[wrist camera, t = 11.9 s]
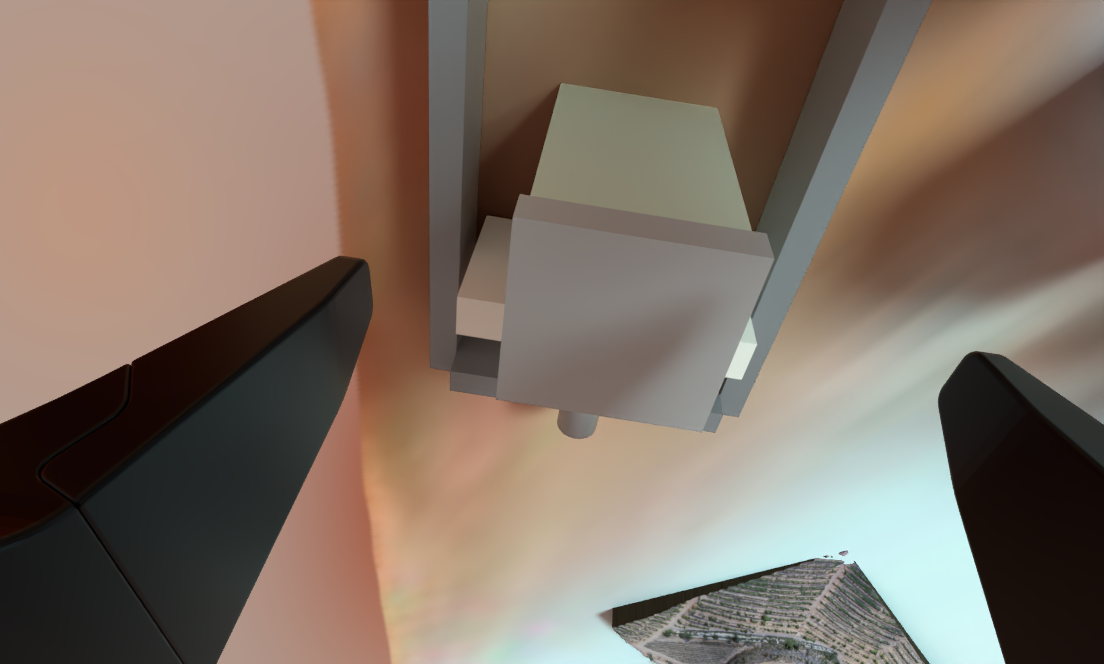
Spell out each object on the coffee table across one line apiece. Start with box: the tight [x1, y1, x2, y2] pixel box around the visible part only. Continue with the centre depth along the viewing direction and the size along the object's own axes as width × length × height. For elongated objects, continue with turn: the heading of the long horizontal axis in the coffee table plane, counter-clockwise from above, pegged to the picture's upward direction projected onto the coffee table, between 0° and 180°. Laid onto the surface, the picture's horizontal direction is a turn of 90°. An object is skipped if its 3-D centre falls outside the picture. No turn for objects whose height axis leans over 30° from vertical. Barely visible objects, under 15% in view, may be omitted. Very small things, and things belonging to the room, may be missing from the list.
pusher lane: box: [428, 0, 932, 433], centre depth 18 cm, size 21×12×4 cm, turn 173°
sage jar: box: [496, 83, 775, 432], centre depth 18 cm, size 5×5×9 cm
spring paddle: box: [456, 215, 757, 439], centre depth 23 cm, size 8×9×5 cm
